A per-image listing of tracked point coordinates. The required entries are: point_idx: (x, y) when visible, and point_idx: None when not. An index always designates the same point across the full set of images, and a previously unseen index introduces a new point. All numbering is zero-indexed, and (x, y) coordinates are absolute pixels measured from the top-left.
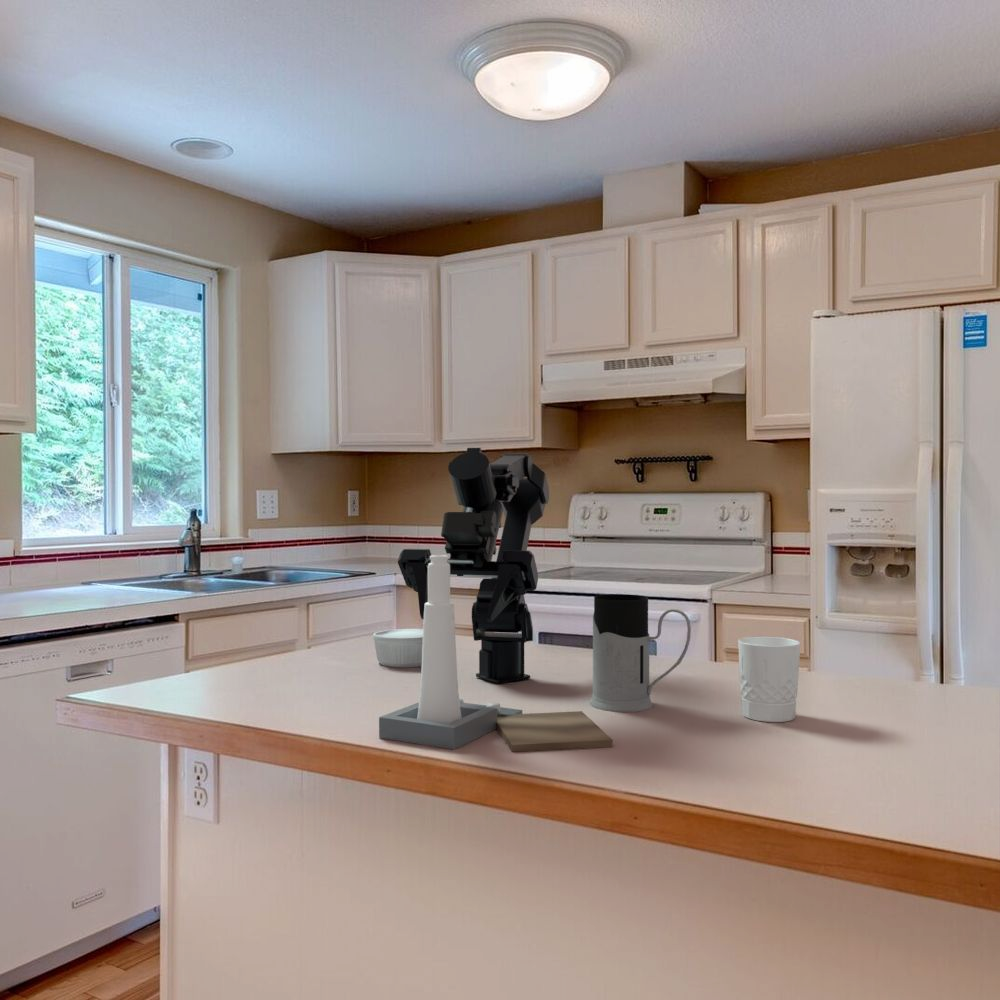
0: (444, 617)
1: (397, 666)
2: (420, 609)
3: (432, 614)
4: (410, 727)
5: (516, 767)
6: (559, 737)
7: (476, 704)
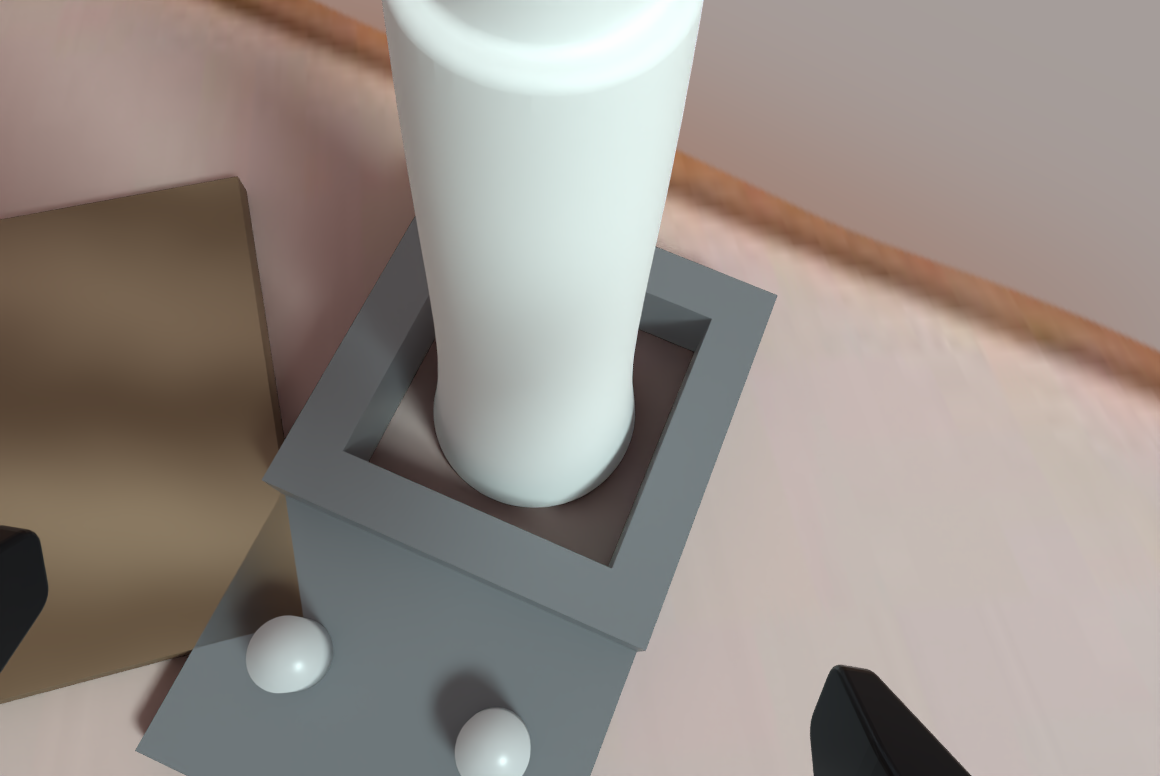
0: None
1: None
2: (901, 712)
3: None
4: None
5: (242, 51)
6: (36, 273)
7: None
